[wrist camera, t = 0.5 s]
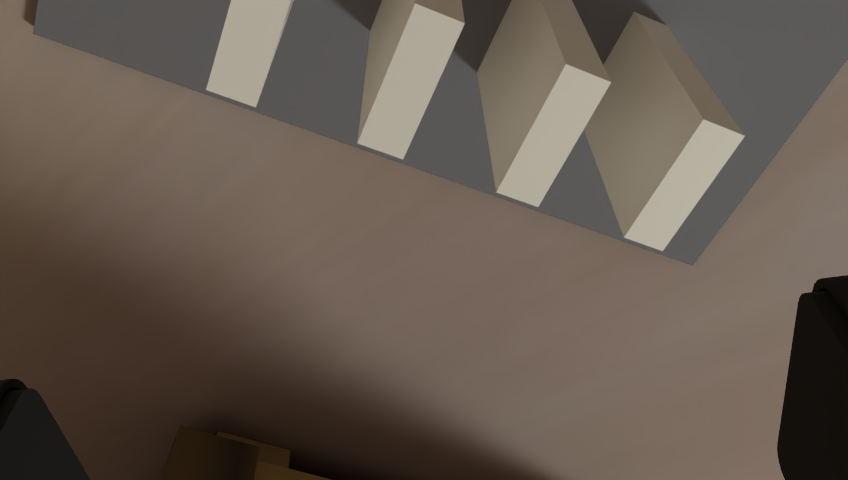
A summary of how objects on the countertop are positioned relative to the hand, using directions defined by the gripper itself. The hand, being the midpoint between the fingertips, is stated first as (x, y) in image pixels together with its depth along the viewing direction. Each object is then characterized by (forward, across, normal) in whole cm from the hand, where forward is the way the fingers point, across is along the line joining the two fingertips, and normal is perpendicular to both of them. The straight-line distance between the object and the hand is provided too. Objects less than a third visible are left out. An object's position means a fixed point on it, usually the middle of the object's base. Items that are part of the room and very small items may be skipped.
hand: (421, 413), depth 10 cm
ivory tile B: (+26, -4, +5) cm, 27 cm away
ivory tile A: (+26, -8, +8) cm, 29 cm away
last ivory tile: (+26, +5, 0) cm, 27 cm away
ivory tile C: (+26, +1, +3) cm, 27 cm away
